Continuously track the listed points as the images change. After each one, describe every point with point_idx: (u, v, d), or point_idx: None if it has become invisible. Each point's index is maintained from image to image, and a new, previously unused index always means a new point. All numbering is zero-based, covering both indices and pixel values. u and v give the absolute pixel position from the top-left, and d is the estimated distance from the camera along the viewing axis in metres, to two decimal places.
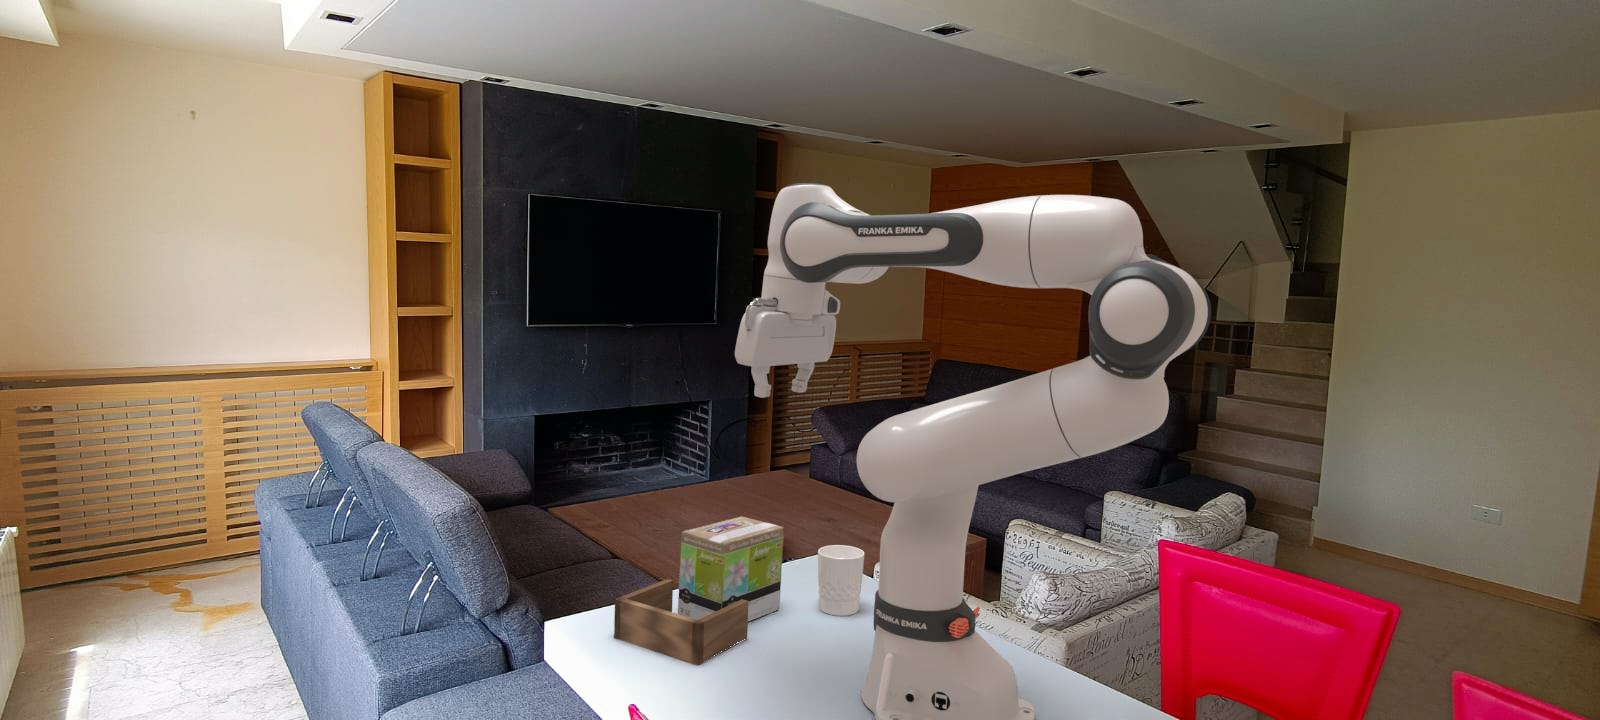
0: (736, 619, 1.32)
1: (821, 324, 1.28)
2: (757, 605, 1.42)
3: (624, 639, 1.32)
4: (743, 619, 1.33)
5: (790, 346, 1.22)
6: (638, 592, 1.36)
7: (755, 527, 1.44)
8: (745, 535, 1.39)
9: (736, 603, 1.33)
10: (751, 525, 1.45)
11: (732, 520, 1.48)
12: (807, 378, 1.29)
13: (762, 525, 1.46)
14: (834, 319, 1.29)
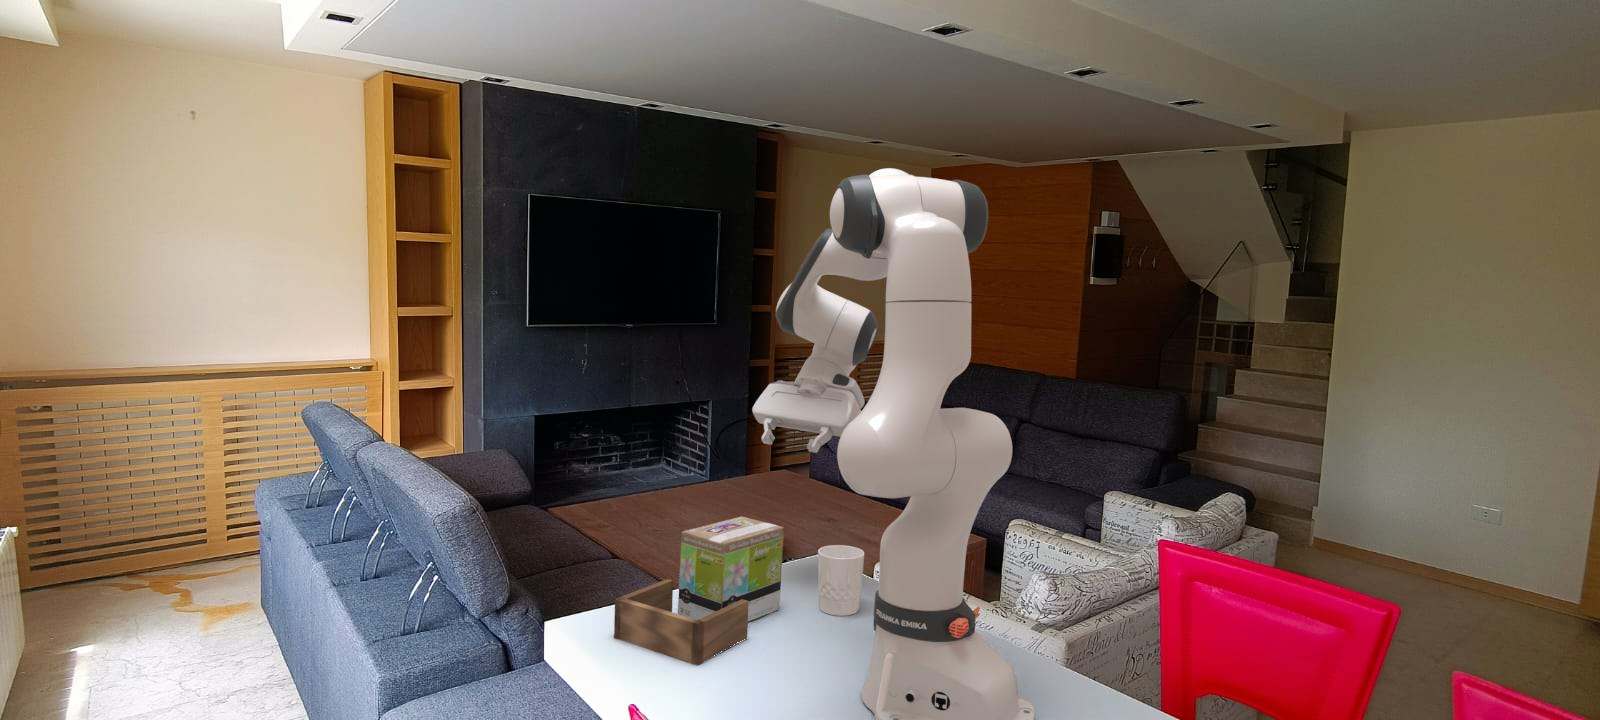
0: (736, 619, 1.32)
1: (835, 397, 1.54)
2: (757, 605, 1.42)
3: (624, 639, 1.32)
4: (743, 619, 1.33)
5: (793, 406, 1.56)
6: (638, 592, 1.36)
7: (755, 527, 1.44)
8: (745, 535, 1.39)
9: (736, 603, 1.33)
10: (751, 525, 1.45)
11: (732, 520, 1.48)
12: (817, 437, 1.50)
13: (762, 525, 1.46)
14: (849, 393, 1.53)
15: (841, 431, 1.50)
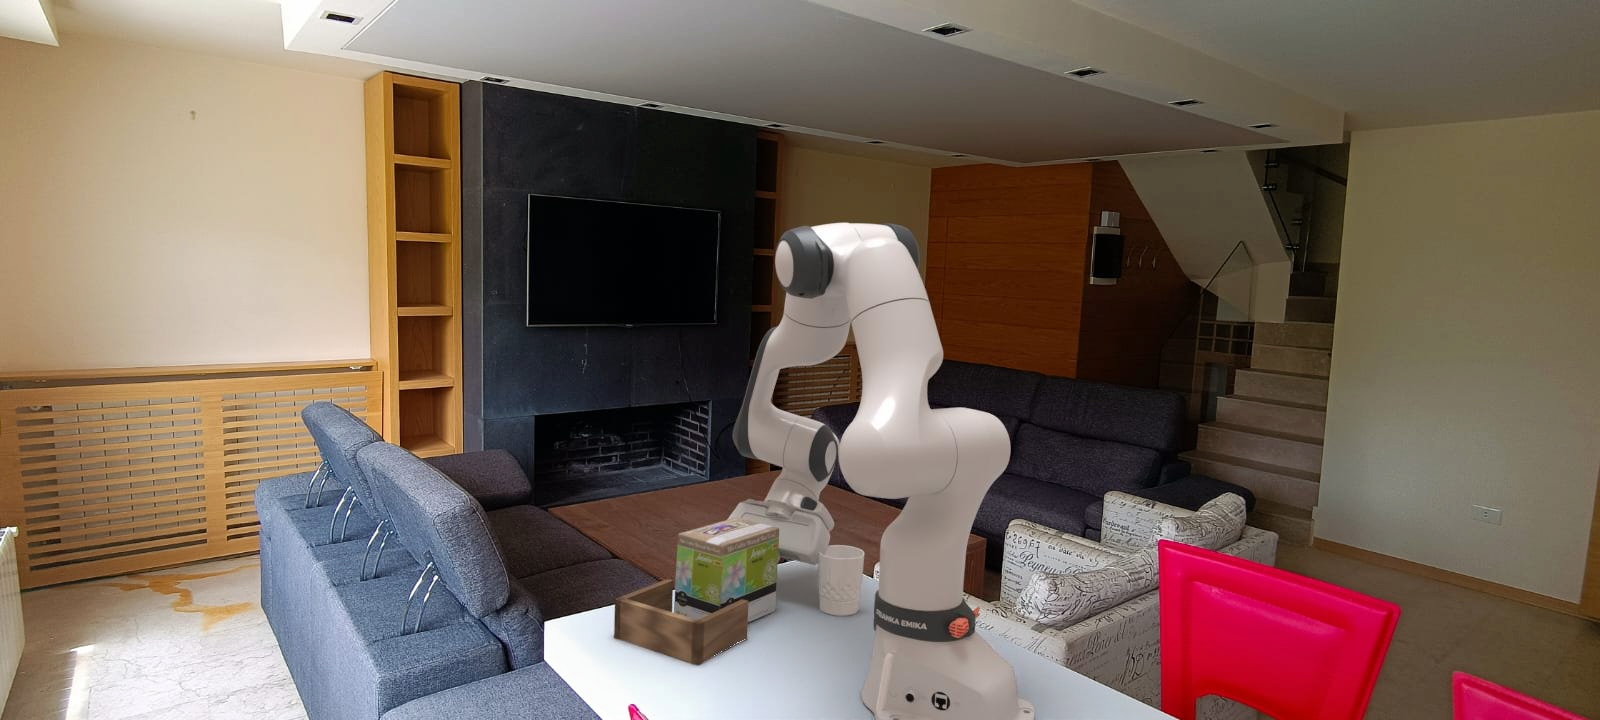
0: (736, 619, 1.32)
1: (803, 522, 1.51)
2: (754, 606, 1.41)
3: (624, 639, 1.32)
4: (743, 619, 1.33)
5: None
6: (638, 592, 1.36)
7: (751, 529, 1.43)
8: (742, 536, 1.38)
9: (736, 603, 1.33)
10: (747, 526, 1.44)
11: (727, 521, 1.47)
12: None
13: (758, 526, 1.45)
14: (816, 518, 1.49)
15: (808, 559, 1.47)
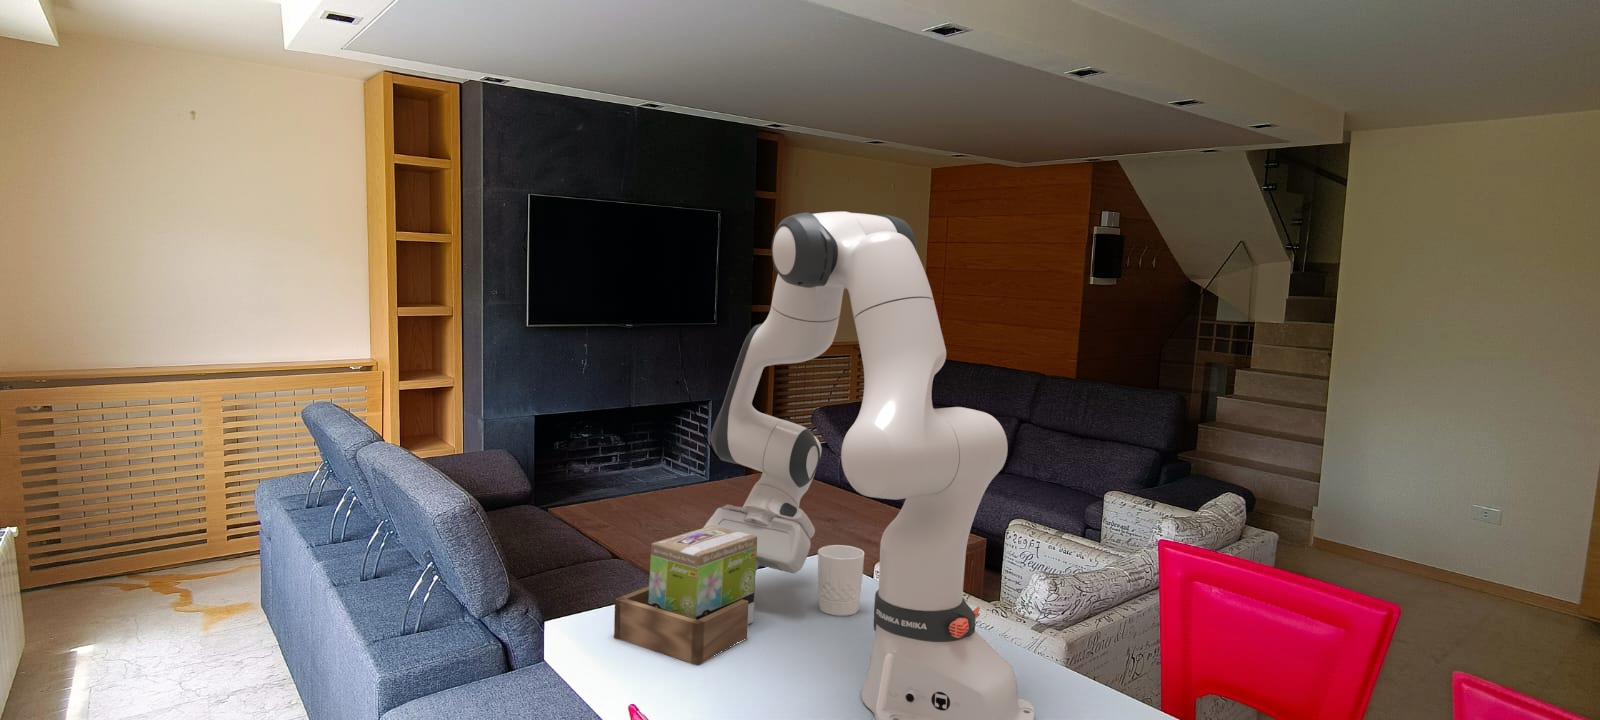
0: (736, 619, 1.32)
1: (782, 529, 1.46)
2: None
3: (624, 639, 1.32)
4: (743, 619, 1.33)
5: None
6: (638, 592, 1.36)
7: (728, 537, 1.37)
8: (718, 546, 1.33)
9: (736, 603, 1.33)
10: (723, 535, 1.39)
11: (703, 530, 1.41)
12: None
13: (735, 535, 1.39)
14: (796, 525, 1.44)
15: (787, 567, 1.42)
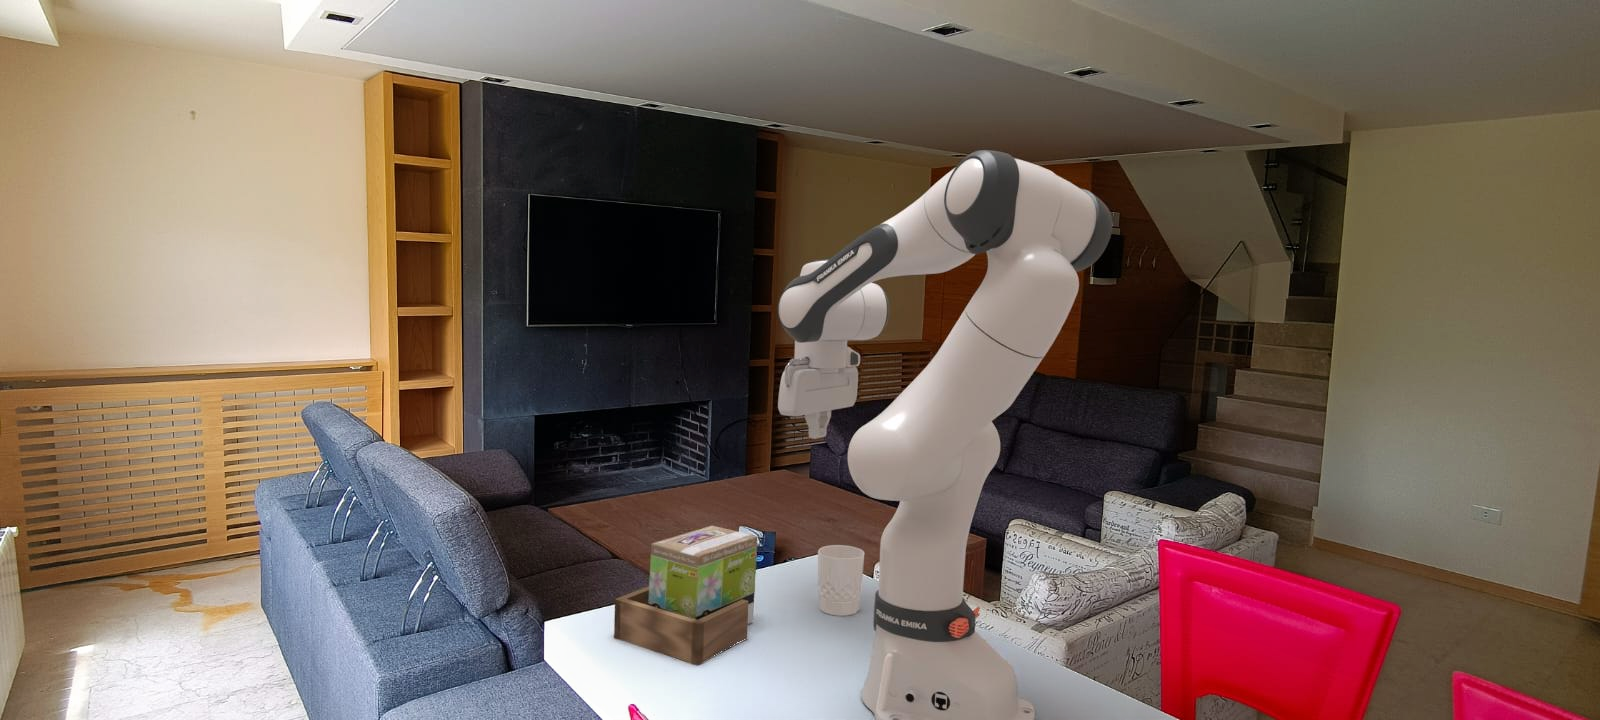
0: (736, 619, 1.32)
1: (845, 375, 1.51)
2: None
3: (624, 639, 1.32)
4: (743, 619, 1.33)
5: (822, 396, 1.45)
6: (638, 592, 1.36)
7: (728, 537, 1.37)
8: (718, 546, 1.33)
9: (736, 603, 1.33)
10: (723, 535, 1.39)
11: (703, 530, 1.41)
12: (826, 424, 1.49)
13: (735, 535, 1.39)
14: (856, 370, 1.53)
15: None
